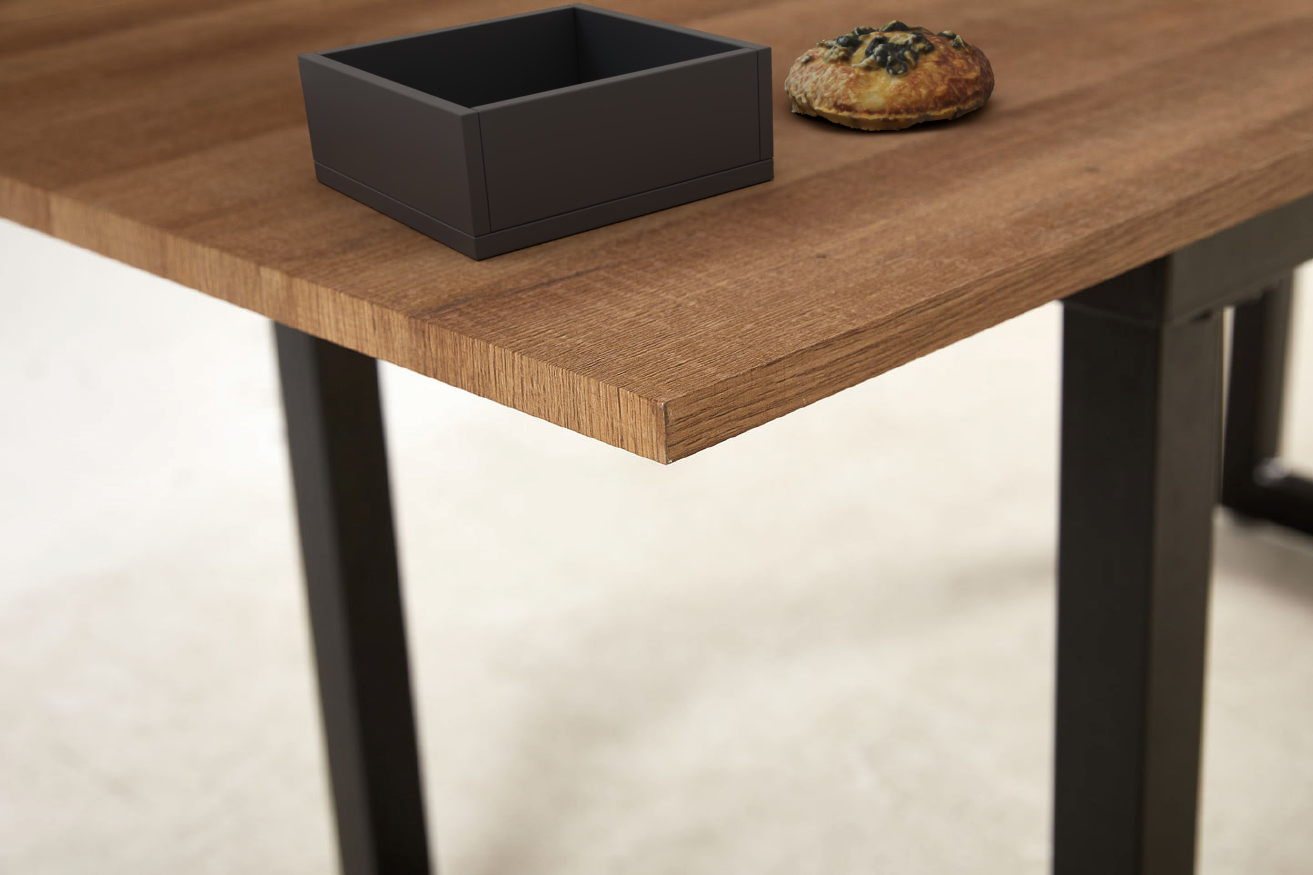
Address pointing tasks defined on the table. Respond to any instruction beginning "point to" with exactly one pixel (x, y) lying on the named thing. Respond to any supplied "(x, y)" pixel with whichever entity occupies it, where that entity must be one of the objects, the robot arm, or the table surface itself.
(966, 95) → the bread roll
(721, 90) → the bin
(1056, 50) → the table surface
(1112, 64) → the table surface
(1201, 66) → the table surface
